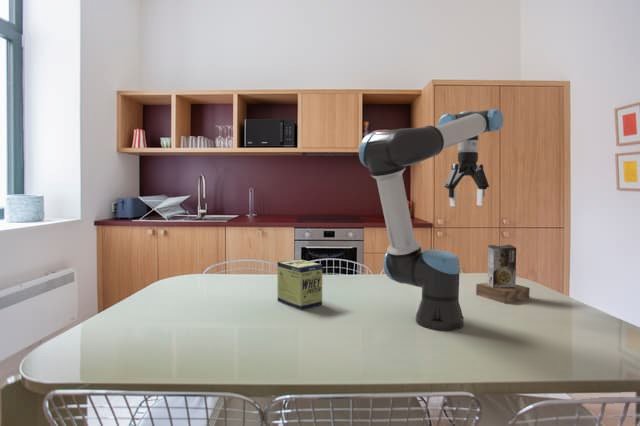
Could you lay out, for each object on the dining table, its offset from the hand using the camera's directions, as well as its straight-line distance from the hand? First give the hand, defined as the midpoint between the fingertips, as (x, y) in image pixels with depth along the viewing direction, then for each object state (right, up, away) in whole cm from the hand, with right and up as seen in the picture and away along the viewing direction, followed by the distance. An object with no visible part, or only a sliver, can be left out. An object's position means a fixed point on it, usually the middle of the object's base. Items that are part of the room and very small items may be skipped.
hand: (466, 205), depth 172 cm
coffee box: (+15, -32, +3) cm, 36 cm away
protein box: (-66, -38, -6) cm, 76 cm away
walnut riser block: (+15, -37, +3) cm, 40 cm away
